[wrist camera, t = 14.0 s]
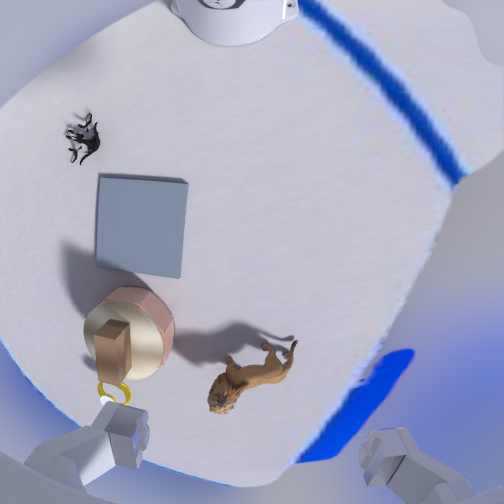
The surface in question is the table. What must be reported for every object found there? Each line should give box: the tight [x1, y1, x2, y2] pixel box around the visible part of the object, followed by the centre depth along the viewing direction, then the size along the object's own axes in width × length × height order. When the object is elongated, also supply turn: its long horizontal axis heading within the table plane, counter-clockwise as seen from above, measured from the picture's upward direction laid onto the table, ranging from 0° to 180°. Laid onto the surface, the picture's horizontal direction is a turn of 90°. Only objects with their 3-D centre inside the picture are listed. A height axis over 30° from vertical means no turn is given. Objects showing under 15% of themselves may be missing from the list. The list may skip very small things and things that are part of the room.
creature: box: [65, 114, 100, 165], centre depth 38 cm, size 8×5×8 cm
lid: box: [84, 300, 164, 386], centre depth 37 cm, size 12×12×6 cm
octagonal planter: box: [86, 286, 175, 368], centre depth 43 cm, size 12×12×6 cm
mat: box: [97, 178, 188, 279], centre depth 42 cm, size 13×13×1 cm
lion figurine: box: [207, 340, 298, 414], centre depth 43 cm, size 15×5×9 cm, turn 122°
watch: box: [98, 381, 131, 405], centre depth 46 cm, size 6×3×6 cm, turn 48°
